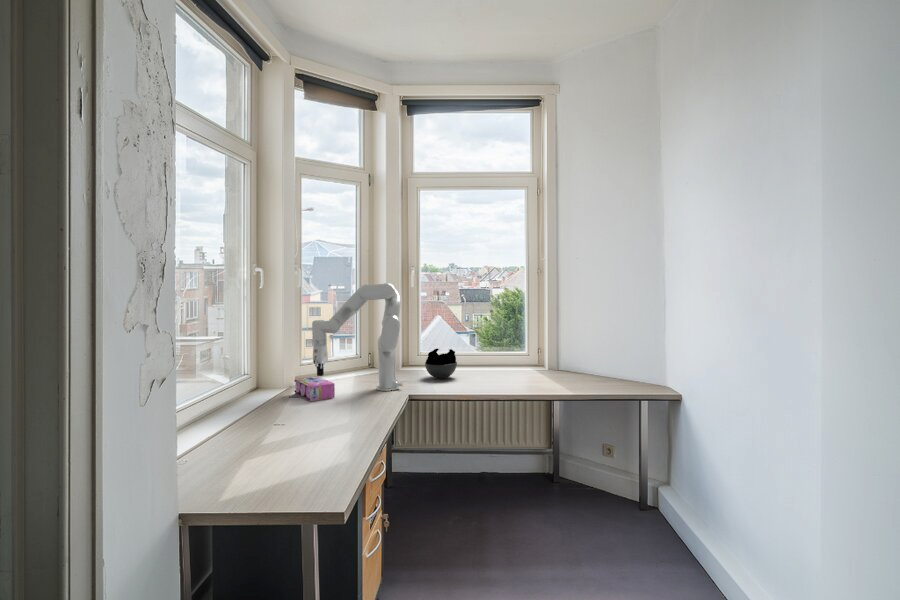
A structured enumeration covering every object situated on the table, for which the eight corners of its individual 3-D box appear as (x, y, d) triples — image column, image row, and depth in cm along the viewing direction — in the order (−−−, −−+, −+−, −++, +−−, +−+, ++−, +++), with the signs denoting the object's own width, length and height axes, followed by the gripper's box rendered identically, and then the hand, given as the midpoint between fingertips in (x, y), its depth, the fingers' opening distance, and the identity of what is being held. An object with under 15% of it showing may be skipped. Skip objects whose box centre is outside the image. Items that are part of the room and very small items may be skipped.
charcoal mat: (334, 388, 290) (334, 386, 290) (315, 398, 265) (315, 397, 265) (309, 387, 292) (309, 386, 292) (288, 397, 268) (288, 396, 268)
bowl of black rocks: (418, 378, 314) (418, 348, 313) (442, 374, 327) (442, 345, 326) (439, 383, 299) (439, 351, 298) (463, 378, 313) (463, 348, 312)
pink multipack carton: (317, 389, 284) (293, 392, 276) (317, 375, 284) (293, 378, 275) (334, 398, 265) (310, 401, 257) (334, 383, 264) (309, 386, 256)
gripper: (320, 344, 269) (321, 378, 270) (331, 340, 283) (332, 373, 284) (307, 344, 270) (307, 378, 271) (319, 340, 285) (319, 372, 286)
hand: (320, 375), depth 278 cm, fingers closed
